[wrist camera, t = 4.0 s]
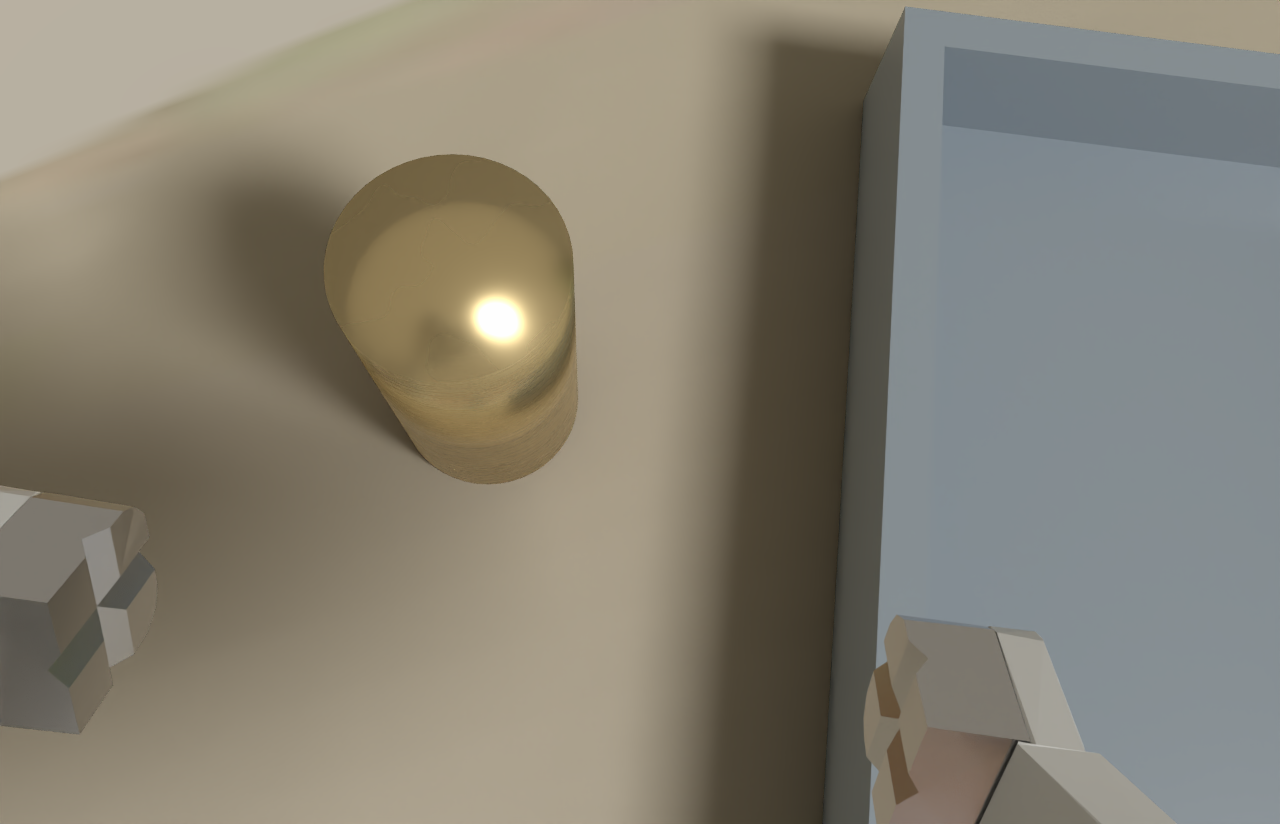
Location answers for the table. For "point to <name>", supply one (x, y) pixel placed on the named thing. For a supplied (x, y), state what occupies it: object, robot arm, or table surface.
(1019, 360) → the tray
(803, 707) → the table surface
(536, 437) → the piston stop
